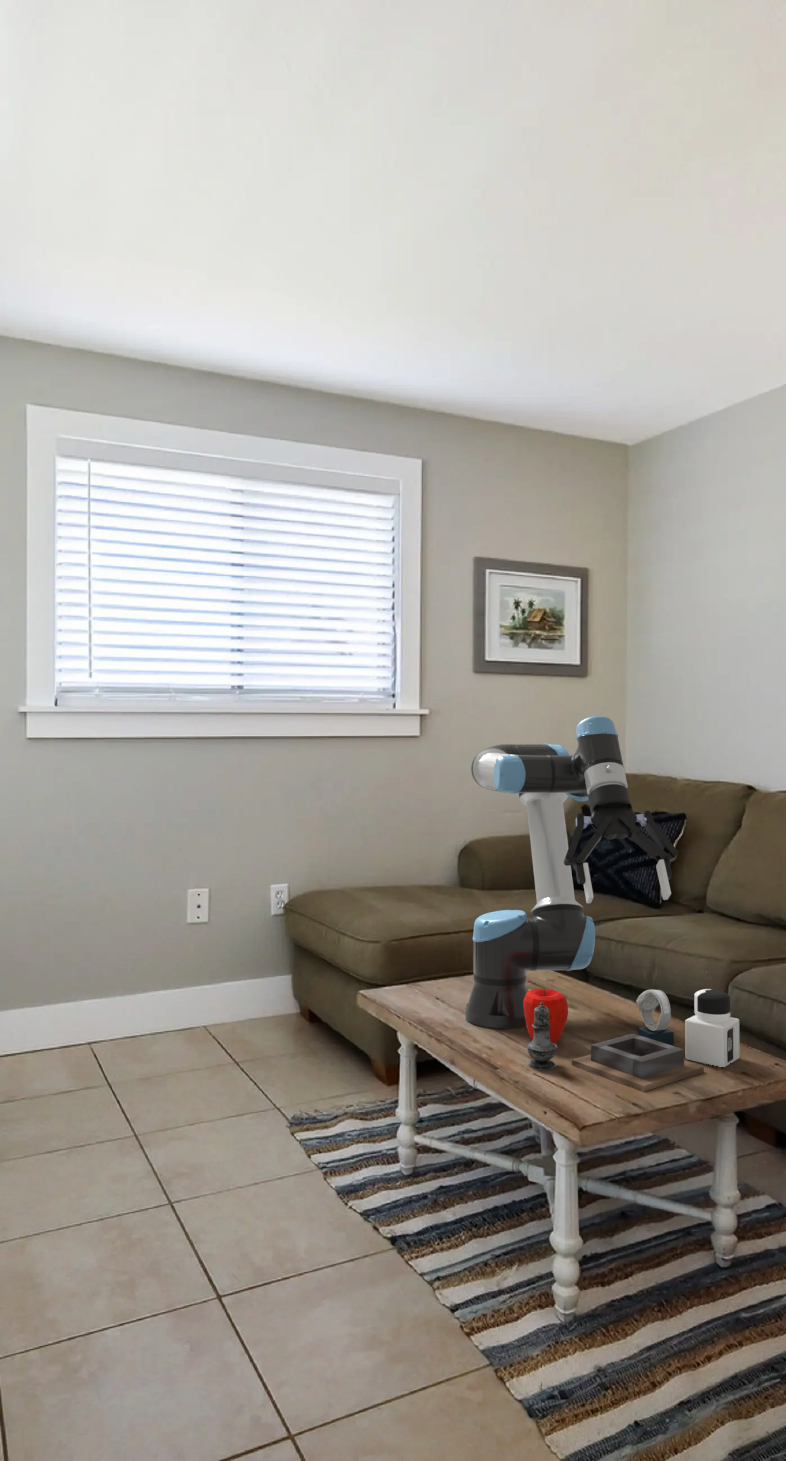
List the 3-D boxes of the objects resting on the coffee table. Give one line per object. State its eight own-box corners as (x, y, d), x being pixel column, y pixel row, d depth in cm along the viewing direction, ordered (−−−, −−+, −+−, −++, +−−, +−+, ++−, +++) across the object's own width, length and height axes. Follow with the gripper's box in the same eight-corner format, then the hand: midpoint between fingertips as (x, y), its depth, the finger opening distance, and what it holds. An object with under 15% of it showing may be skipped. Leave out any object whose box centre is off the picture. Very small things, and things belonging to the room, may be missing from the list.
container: (740, 1058, 184) (739, 991, 184) (723, 1069, 178) (723, 999, 178) (701, 1050, 189) (701, 984, 189) (684, 1060, 183) (684, 992, 184)
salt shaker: (522, 1067, 179) (522, 1003, 179) (530, 1058, 184) (530, 996, 184) (553, 1072, 177) (553, 1007, 177) (560, 1062, 182) (560, 999, 182)
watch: (656, 1038, 197) (656, 984, 197) (678, 1050, 189) (678, 994, 189) (632, 1040, 195) (632, 986, 195) (654, 1052, 188) (654, 996, 188)
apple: (574, 1041, 195) (573, 988, 195) (557, 1052, 187) (557, 997, 188) (533, 1034, 200) (533, 982, 200) (516, 1045, 192) (516, 991, 192)
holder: (571, 1065, 180) (571, 1044, 180) (631, 1048, 190) (631, 1028, 190) (643, 1091, 166) (643, 1068, 166) (703, 1072, 176) (703, 1050, 176)
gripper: (544, 785, 174) (561, 893, 163) (679, 779, 175) (705, 886, 164) (538, 804, 181) (554, 910, 169) (669, 798, 181) (693, 903, 170)
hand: (628, 898), depth 166 cm, fingers open, 13 cm apart
